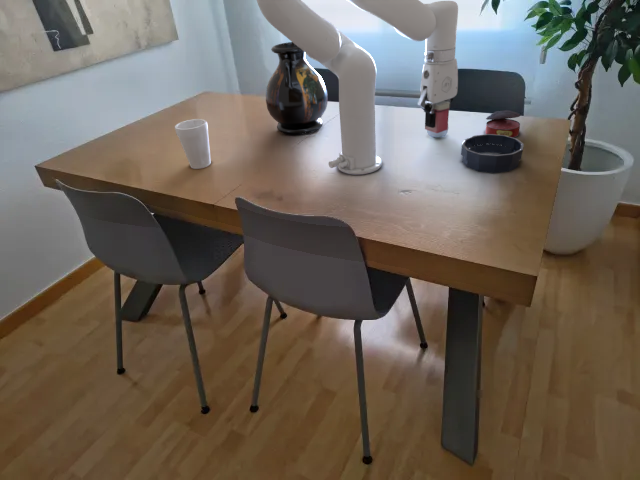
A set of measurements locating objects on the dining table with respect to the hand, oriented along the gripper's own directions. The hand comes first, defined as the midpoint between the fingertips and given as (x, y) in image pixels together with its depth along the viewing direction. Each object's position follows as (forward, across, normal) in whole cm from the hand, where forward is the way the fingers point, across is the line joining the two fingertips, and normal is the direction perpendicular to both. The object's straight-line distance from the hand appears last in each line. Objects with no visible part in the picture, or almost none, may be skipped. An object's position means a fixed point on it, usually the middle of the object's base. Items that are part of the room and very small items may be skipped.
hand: (436, 123), depth 125 cm
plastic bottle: (+10, +12, +10) cm, 18 cm away
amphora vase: (+9, -14, +51) cm, 54 cm away
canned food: (+10, +27, -3) cm, 29 cm away
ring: (+10, +7, -14) cm, 18 cm away
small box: (+2, 0, 0) cm, 2 cm away
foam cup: (+9, -54, +47) cm, 72 cm away
